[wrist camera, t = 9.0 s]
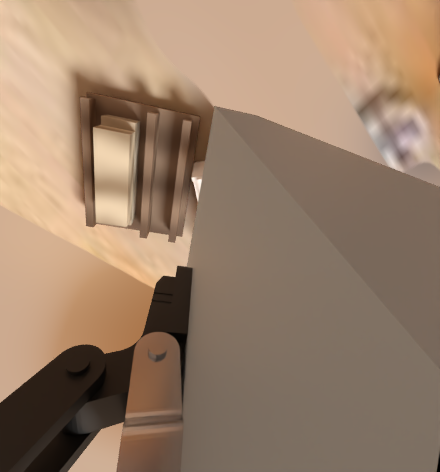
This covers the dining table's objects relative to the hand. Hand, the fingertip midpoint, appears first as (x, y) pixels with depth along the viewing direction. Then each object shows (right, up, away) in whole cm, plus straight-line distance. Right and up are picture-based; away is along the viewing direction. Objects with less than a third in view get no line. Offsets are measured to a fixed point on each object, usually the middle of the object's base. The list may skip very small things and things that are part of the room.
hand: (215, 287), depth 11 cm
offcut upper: (-13, +10, +22) cm, 28 cm away
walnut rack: (-11, +12, +26) cm, 31 cm away
